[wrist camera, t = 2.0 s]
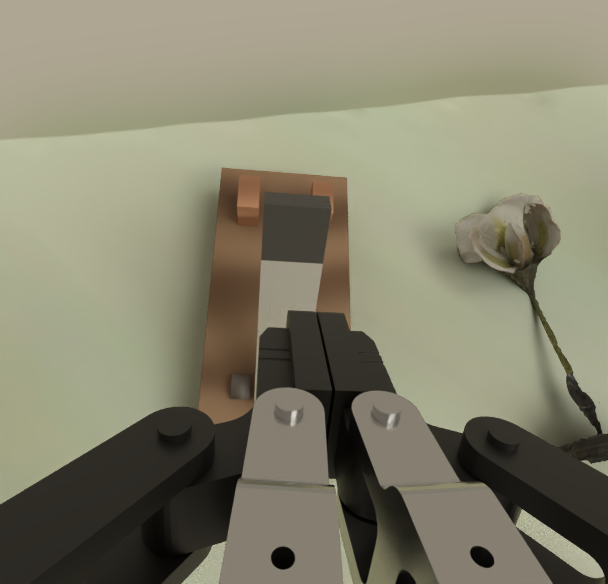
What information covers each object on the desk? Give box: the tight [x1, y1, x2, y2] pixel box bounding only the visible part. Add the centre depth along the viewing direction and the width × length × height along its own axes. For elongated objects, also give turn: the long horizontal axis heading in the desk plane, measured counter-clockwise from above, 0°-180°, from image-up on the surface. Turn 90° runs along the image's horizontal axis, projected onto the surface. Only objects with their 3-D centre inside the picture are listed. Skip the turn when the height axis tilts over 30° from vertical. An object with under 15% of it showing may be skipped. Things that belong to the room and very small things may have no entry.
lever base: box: [198, 168, 351, 424], centre depth 32 cm, size 20×10×7 cm, turn 179°
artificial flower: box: [455, 193, 608, 464], centre depth 34 cm, size 9×22×10 cm, turn 10°
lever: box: [254, 192, 332, 402], centre depth 24 cm, size 14×3×1 cm
